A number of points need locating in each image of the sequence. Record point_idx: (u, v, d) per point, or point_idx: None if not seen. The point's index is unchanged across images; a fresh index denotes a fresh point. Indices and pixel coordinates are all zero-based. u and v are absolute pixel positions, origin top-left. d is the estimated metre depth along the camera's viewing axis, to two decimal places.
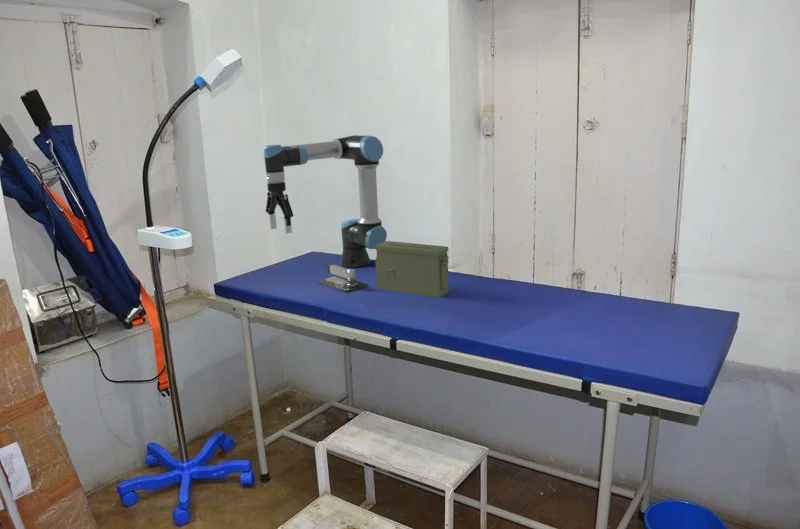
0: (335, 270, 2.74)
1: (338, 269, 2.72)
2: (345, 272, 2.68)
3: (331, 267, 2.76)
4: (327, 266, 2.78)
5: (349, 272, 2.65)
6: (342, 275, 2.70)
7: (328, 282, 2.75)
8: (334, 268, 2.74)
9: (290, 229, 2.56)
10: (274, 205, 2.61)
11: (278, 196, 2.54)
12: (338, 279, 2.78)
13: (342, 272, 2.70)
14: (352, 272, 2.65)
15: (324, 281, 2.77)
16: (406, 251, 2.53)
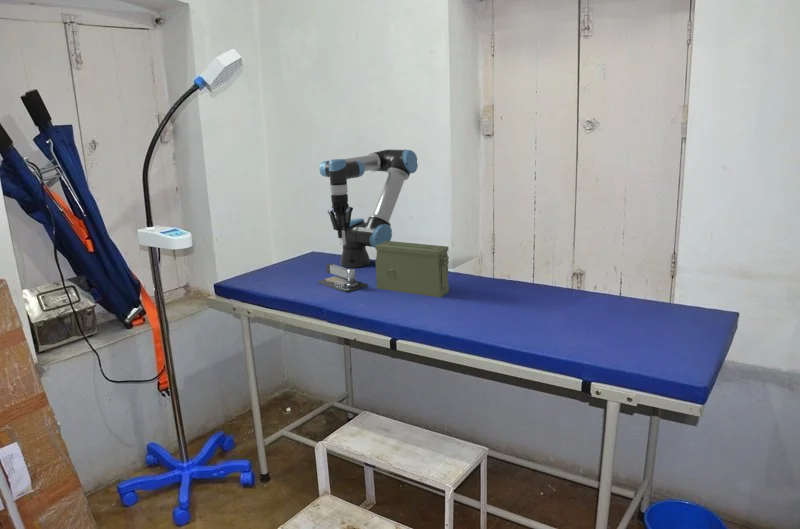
0: (335, 270, 2.74)
1: (338, 269, 2.72)
2: (345, 272, 2.68)
3: (331, 267, 2.76)
4: (327, 266, 2.78)
5: (349, 272, 2.65)
6: (342, 275, 2.70)
7: (328, 282, 2.75)
8: (334, 268, 2.74)
9: (342, 241, 2.77)
10: (342, 218, 2.76)
11: None
12: (338, 279, 2.78)
13: (342, 272, 2.70)
14: (352, 272, 2.65)
15: (324, 281, 2.77)
16: (406, 251, 2.53)
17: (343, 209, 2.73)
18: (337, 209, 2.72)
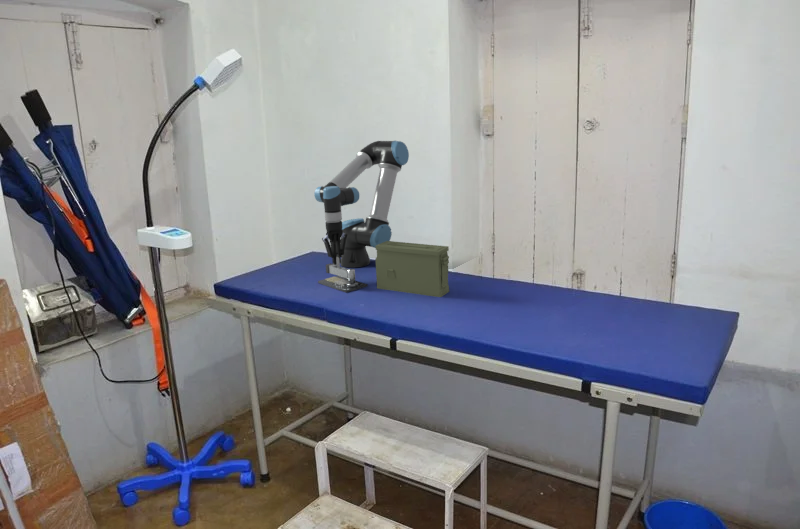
0: (335, 270, 2.74)
1: (338, 269, 2.72)
2: (345, 272, 2.68)
3: (331, 267, 2.76)
4: (327, 266, 2.78)
5: (349, 272, 2.65)
6: (342, 275, 2.70)
7: (328, 282, 2.75)
8: (334, 268, 2.74)
9: None
10: (336, 245, 2.75)
11: None
12: (338, 279, 2.78)
13: (342, 272, 2.70)
14: (352, 272, 2.65)
15: (324, 281, 2.77)
16: (406, 251, 2.53)
17: (337, 236, 2.73)
18: (331, 236, 2.71)
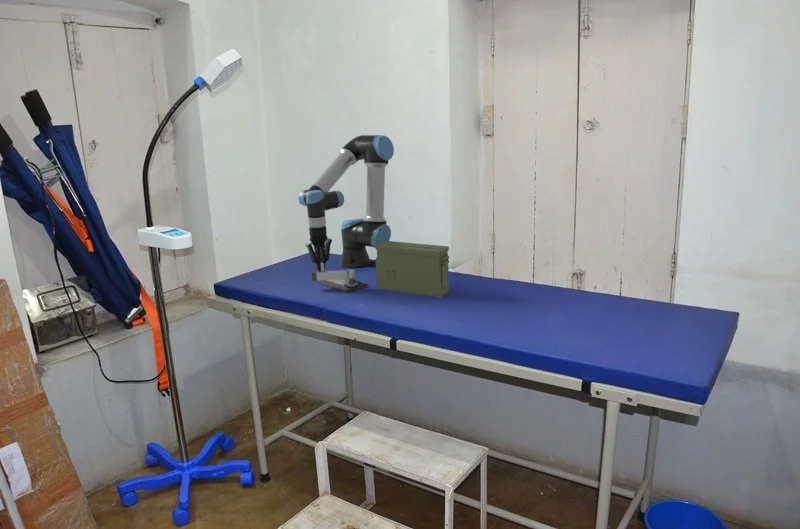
0: (327, 275, 2.66)
1: (332, 273, 2.66)
2: (344, 273, 2.66)
3: (320, 273, 2.66)
4: (314, 274, 2.66)
5: (352, 272, 2.65)
6: (339, 278, 2.66)
7: (328, 282, 2.75)
8: (325, 273, 2.66)
9: None
10: (321, 250, 2.68)
11: None
12: None
13: (339, 275, 2.66)
14: (354, 271, 2.66)
15: (324, 281, 2.77)
16: (407, 251, 2.53)
17: (321, 241, 2.66)
18: (315, 242, 2.64)
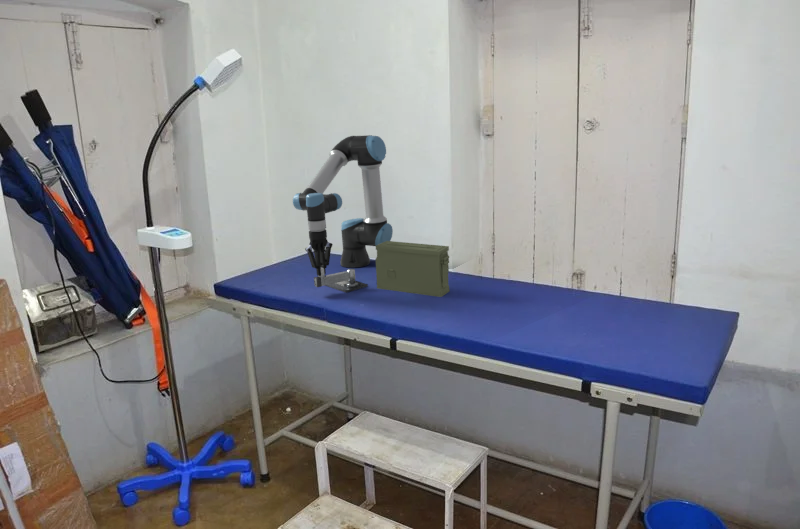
0: (331, 279, 2.61)
1: (336, 276, 2.62)
2: (347, 274, 2.64)
3: (324, 278, 2.59)
4: (319, 279, 2.57)
5: (353, 271, 2.66)
6: (342, 279, 2.64)
7: None
8: (329, 277, 2.60)
9: None
10: (321, 255, 2.60)
11: None
12: None
13: (342, 277, 2.63)
14: None
15: None
16: (407, 251, 2.53)
17: (322, 246, 2.58)
18: (315, 246, 2.56)
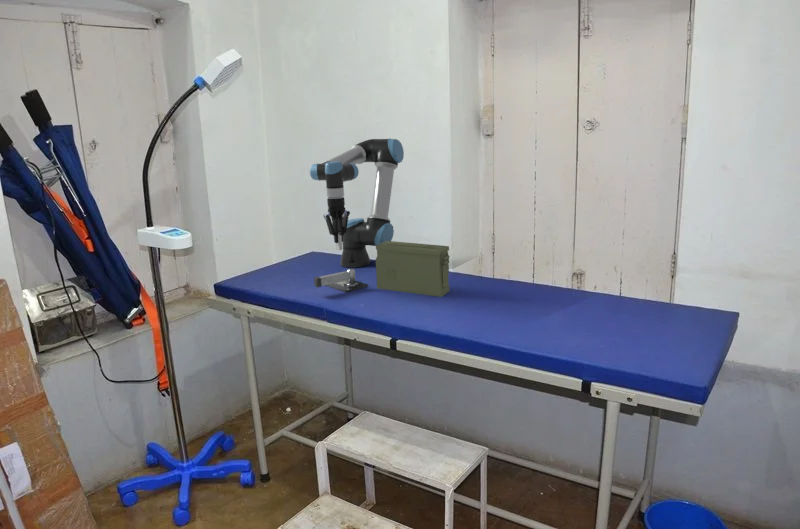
0: (331, 279, 2.61)
1: (336, 276, 2.62)
2: (347, 274, 2.64)
3: (324, 278, 2.59)
4: (319, 279, 2.57)
5: (353, 271, 2.66)
6: (342, 279, 2.64)
7: None
8: (329, 277, 2.60)
9: (338, 247, 2.68)
10: (338, 222, 2.67)
11: None
12: None
13: (342, 277, 2.63)
14: None
15: None
16: (407, 251, 2.53)
17: (339, 213, 2.65)
18: (333, 213, 2.63)
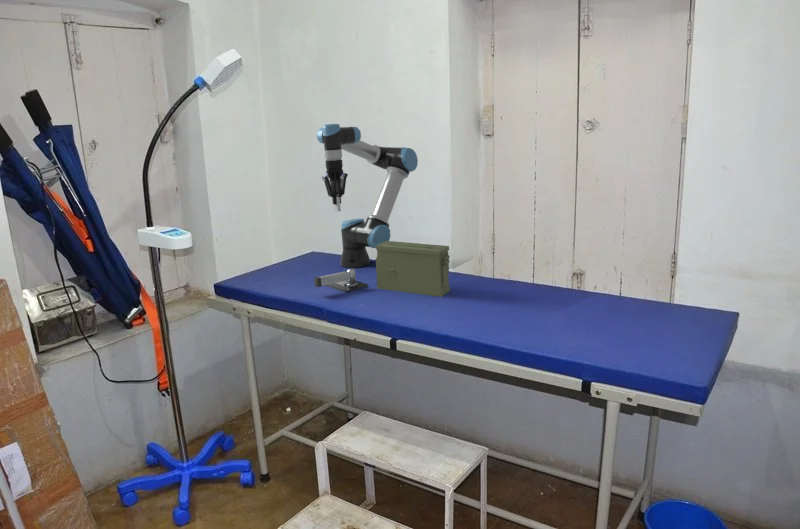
0: (331, 279, 2.61)
1: (336, 276, 2.62)
2: (347, 274, 2.64)
3: (324, 278, 2.59)
4: (319, 279, 2.57)
5: (353, 271, 2.66)
6: (342, 279, 2.64)
7: None
8: (329, 277, 2.60)
9: (337, 208, 2.74)
10: (337, 184, 2.73)
11: None
12: None
13: (342, 277, 2.63)
14: None
15: None
16: (407, 251, 2.53)
17: (338, 175, 2.71)
18: (332, 175, 2.69)
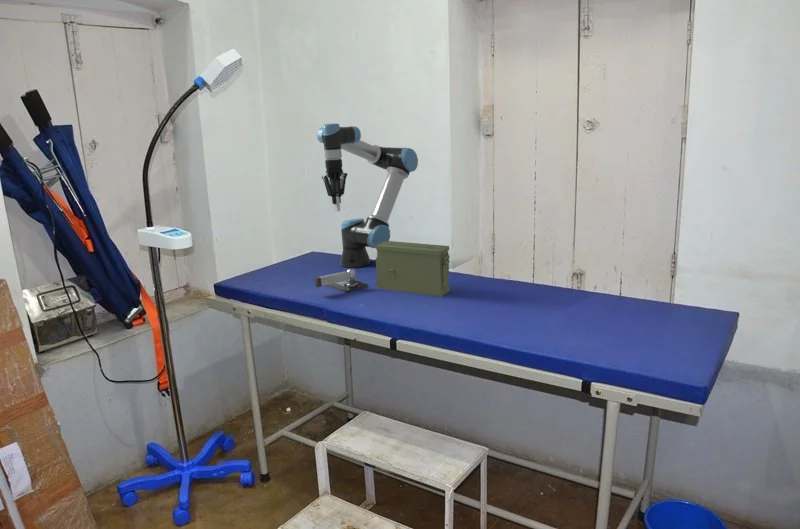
0: (331, 279, 2.61)
1: (336, 276, 2.62)
2: (347, 274, 2.64)
3: (324, 278, 2.59)
4: (319, 279, 2.57)
5: (353, 271, 2.66)
6: (342, 279, 2.64)
7: None
8: (329, 277, 2.60)
9: (336, 208, 2.74)
10: (336, 184, 2.73)
11: None
12: None
13: (342, 277, 2.63)
14: None
15: None
16: (407, 251, 2.54)
17: (337, 174, 2.71)
18: (331, 174, 2.69)
